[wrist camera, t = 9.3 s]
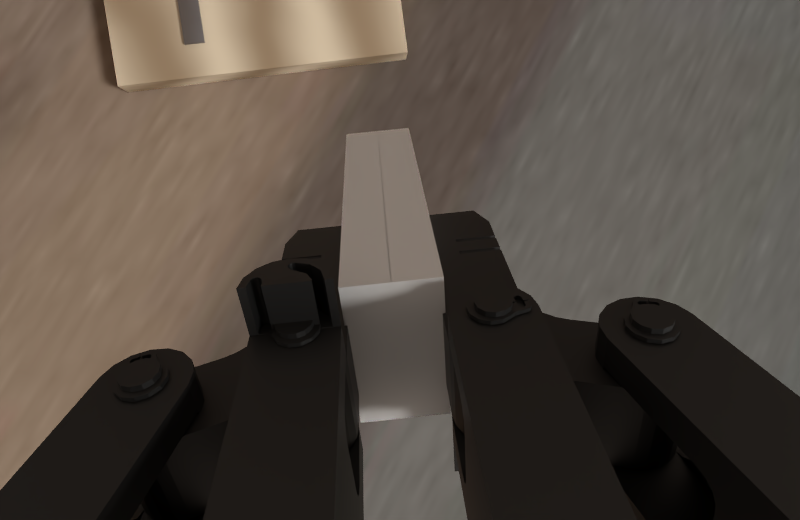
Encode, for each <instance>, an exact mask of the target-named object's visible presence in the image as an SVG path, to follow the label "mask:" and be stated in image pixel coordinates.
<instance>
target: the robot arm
mask: <svg viewBox="0 0 800 520" xmlns="http://www.w3.org/2000/svg"><path fill="white" fill-rule="evenodd" d="M236 289H237V293H238V296H239V300H240V303H241V307H242V310H243V314H244V317H245V321H246V324H247V328H248V331H249V335H250V337H249V341H248V345H247V347H245V348H244V349H242V350H240V351H239V352H237V353H234V354H232V355H230V356H227V357H225V358H222V359H219V360H216V361H213V362H210V363H206V364H203V365H200V366H197V367H194V365H193V362H192V359H190V358H189V357H188V356H187V355H186V354H185V353H183V352H181V351H177V350H173V349H156V350H148V351H145V352H142V353H139V354H136V355H132V356H130V357H128V358H126V359H124V360H123V361H121V362H119V363H117V364H115V365H113V366H112V367H111V368H110V369H109V370H108V371H106V372H105V373H104V374H103V375H102V376H101V377H100V378H99V379H98V380H97V381H96V382H95V383H94V384H93V385H92V386H91V388H90V389H89V390H88V391H87V392H86V393H85V394H84V396H83V397H82V398H81V399H80V400H79V401H78V402H77V404H76V405H75V406H74V407H73V408H72V409H71V410H70V412H69V413H68V414H67V415H66V416H65V417H64V418H63V420H62V421H61V422H60V423H59V424H58V425H57V426H56V428H55V429H54V430H53V431H52V432H51V433H50V434H49V436H48V437H47V438H46V439H45V440H44V441H43V442H42V443H41V445H40V446H39V447H38V448H37V449H36V450H35V451H34V453H33V454H32V455H31V456H30V457H29V458H28V459H27V461H26V462H25V463H24V464H23V465H22V466H21V467H20V469H19V470H18V471H17V472H16V473H15V474H14V475H13V477H12V478H11V479H10V480H9V481H8V482H7V483H6V485H5V486H4V487H3V488H2V489H1V490H0V520H364V514H363V448H362V442H361V436H360V431H359V414H360V420H361V423H363V422H372V421H382V420H391V419H401V418H410V417H420V416H429V415H439V414H448V413H450V406H451V411H452V420H453V441H454V463H455V471H459V474H460V479H461V485H462V491H463V496H464V502H465V507H466V513H467V519H468V520H800V397H799V396H798V395H797V394H795V393H794V392H793V391H792V390H790V389H789V388H788V387H786V386H785V385H784V384H782V383H781V382H780V381H779V380H777V379H776V378H775V377H773V376H772V375H771V374H770V373H768V372H767V371H766V370H764V369H763V368H762V367H761V366H759V365H758V364H757V363H755V362H754V361H753V360H751V359H750V358H749V357H748V356H746V355H745V354H744V353H742V352H741V351H740V350H739V349H737V348H736V347H735V346H733V345H732V344H731V343H730V342H728V341H727V340H726V339H724V338H723V337H722V336H720V335H719V334H718V333H717V332H715V331H714V330H713V329H711V328H710V327H709V326H708V325H706V324H705V323H704V322H702V321H701V320H700V319H698V318H697V317H696V316H695V315H693V314H692V313H690V312H688V311H687V310H685V309H683V308H681V307H680V306H678V305H676V304H673V303H670V302H666V301H663V300H660V299H655V298H645V297H633V298H625V299H619V300H617V301H615V302H613V303H611V304H609V305H607V306H606V307H605V308H604V310H603V311H602V312H601V313H600V315H599V322H598V323H595V322H586V321H577V320H569V319H563V318H557V317H554V316H551V315H548V314H545V313H542V311H541V309H540V307H539V305H538V304H537V303H536V301H535V300H534V299H533V298H532V297H531V295H529V294H527V293H525V292H523V291H521V290H520V289H518V288H517V286H516V284H515V282H514V279H513V277H512V275H511V272H510V270H509V268H508V265H507V263H506V261H505V258H504V256H503V253H502V251H501V250H500V246H499V244H498V242H497V239H496V238H495V235H494V232H493V230H492V228H491V225H490V223H489V221H487V220H486V219H484V218H483V217H482V216H480V215H479V214H477V213H476V212H475V211H465V212H456V213H446V214H436V215H429V212H428V208H427V204H426V200H425V195H424V191H423V187H422V183H421V178H420V174H419V170H418V166H417V162H416V157H415V153H414V149H413V145H412V140H411V136H410V132H409V128H404V129H394V130H384V131H374V132H364V133H354V134H347V136H346V154H345V173H344V191H343V209H342V226H336V227H326V228H317V229H307V230H298V231H297V233H296V234H295V235H294V236H293V237H292V238H291V239H290V240H289V241H288V242H287V243H286V244H285V248H284V253H283V257H282V260H280V261H275V262H271V263H269V264H266V265H264V266H261V267H259V268H257V269H255V270H254V271H252V272H251V273H250V274H248V275H247V276H245V277H244V278H243V279H242V281H241V282H240V284H239V285H238V287H237V288H236Z"/></svg>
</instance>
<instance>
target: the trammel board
mask: <svg viewBox="0 0 800 520" xmlns="http://www.w3.org/2000/svg"><path fill="white" fill-rule="evenodd" d="M104 6H105V12H106V18H107V24H108V30H109V36H110V42H111V48H112V54H113V61H114V67H115V73H116V79H117V85H118V87H120V88H121V89H123V90H125V91H126V92H135V91H144V90H152V89H161V88H169V87H178V86H186V85H194V84H203V83H211V82H220V81H228V80H237V79H245V78H254V77H262V76H271V75H279V74H288V73H296V72H305V71H313V70H321V69H330V68H338V67H347V66H355V65H364V64H372V63H381V62H389V61H398V60H406V56H407V53H408V52H407V44H406V37H405V29H404V22H403V14H402V7H401V0H104Z"/></svg>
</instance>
